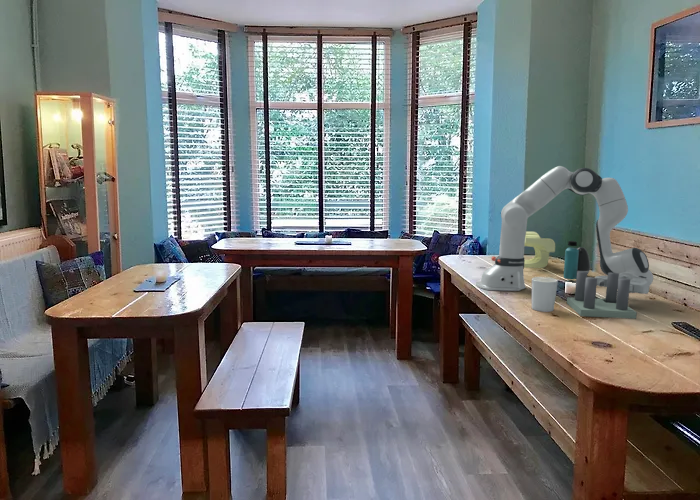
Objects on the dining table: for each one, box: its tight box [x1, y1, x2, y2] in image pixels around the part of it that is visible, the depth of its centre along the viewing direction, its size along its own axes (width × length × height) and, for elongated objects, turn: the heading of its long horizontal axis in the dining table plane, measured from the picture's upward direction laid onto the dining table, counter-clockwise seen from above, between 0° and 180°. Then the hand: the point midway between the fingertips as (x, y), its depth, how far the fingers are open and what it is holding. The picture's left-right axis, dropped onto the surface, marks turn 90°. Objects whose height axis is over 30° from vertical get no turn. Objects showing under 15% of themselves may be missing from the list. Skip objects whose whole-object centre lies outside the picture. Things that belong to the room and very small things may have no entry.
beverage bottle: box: [562, 240, 579, 280], centre depth 272 cm, size 6×7×20 cm
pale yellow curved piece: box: [524, 231, 556, 269], centre depth 313 cm, size 30×16×18 cm, turn 178°
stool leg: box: [605, 272, 619, 303], centre depth 222 cm, size 4×4×14 cm
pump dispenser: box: [576, 246, 591, 274], centre depth 286 cm, size 10×10×15 cm
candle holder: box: [531, 276, 559, 313], centre depth 218 cm, size 10×10×12 cm
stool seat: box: [566, 271, 637, 320], centre depth 217 cm, size 20×20×14 cm
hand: (611, 286), depth 221 cm, fingers open, 8 cm apart
